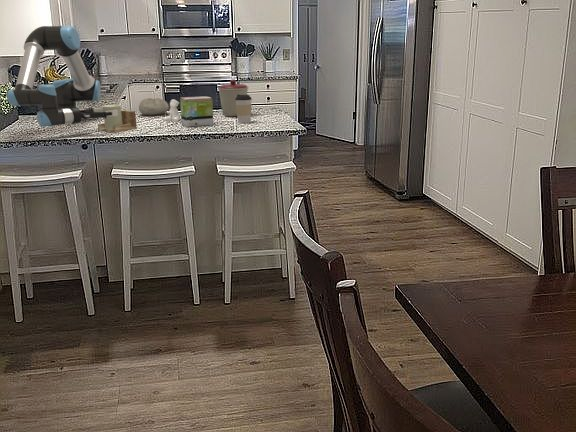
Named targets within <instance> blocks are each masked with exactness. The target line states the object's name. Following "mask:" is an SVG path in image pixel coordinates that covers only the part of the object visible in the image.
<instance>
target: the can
mask: <svg viewBox="0 0 576 432" xmlns="http://www.w3.org/2000/svg"><path fill="white" fill-rule="evenodd" d="M101 108H103V112H105V111H112V110H117V111H118V116H109V117H106V118H103V121H104V123H105V129H108V130H113V129H114V126H119V125H123V124H122V115H121V110H122V106H121V104H106V105H102V107H101ZM104 123H103V124H104Z"/></svg>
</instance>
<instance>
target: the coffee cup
mask: <svg viewBox="0 0 576 432" xmlns="http://www.w3.org/2000/svg"><path fill="white" fill-rule="evenodd" d="M235 100H236V110H237V116H238V117H237V123H238V124H249V123H251V121H252V120H251V119H252V117H251V116H252V96H251V95H250V94H247V95H239V94H238V95H237V97H236V99H235Z"/></svg>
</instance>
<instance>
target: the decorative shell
mask: <svg viewBox="0 0 576 432" xmlns="http://www.w3.org/2000/svg"><path fill="white" fill-rule="evenodd" d="M138 110H139V112H140V113H141V114H143V115H145V116H157V115H163V114H166V113H167V112H169V110H170V104H169V103H168V102H167V101H166V100H164V99H163V98H158V97H157V98H152V97H150V98H144V99H142V100H141V101H140V102H139V104H138Z"/></svg>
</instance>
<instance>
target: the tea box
mask: <svg viewBox="0 0 576 432" xmlns="http://www.w3.org/2000/svg"><path fill="white" fill-rule="evenodd" d="M213 101H214V100H213V97H210V96H207V95H205V96H201V95H200V96H186V97H185V96H184V97H183V96H182V97H179V105H180V121H181V123H180V124H181V125H182V126H185V127H186V128H188V127H189V128H190V127H201V126H213V125H214V107H213V106H214V105H213V103H214V102H213Z"/></svg>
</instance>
